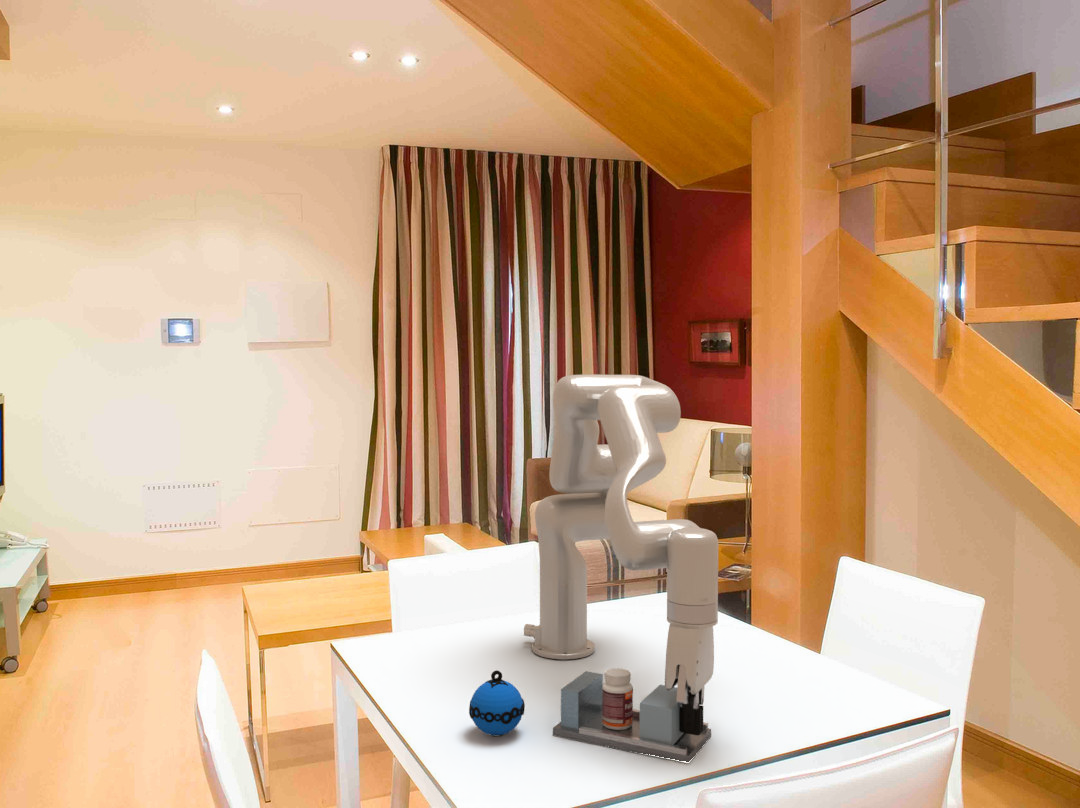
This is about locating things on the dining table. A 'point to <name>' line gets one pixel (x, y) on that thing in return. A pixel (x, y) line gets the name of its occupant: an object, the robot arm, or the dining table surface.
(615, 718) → the pill bottle
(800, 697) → the dining table surface
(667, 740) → the plate
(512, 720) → the ornament
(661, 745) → the vise base
